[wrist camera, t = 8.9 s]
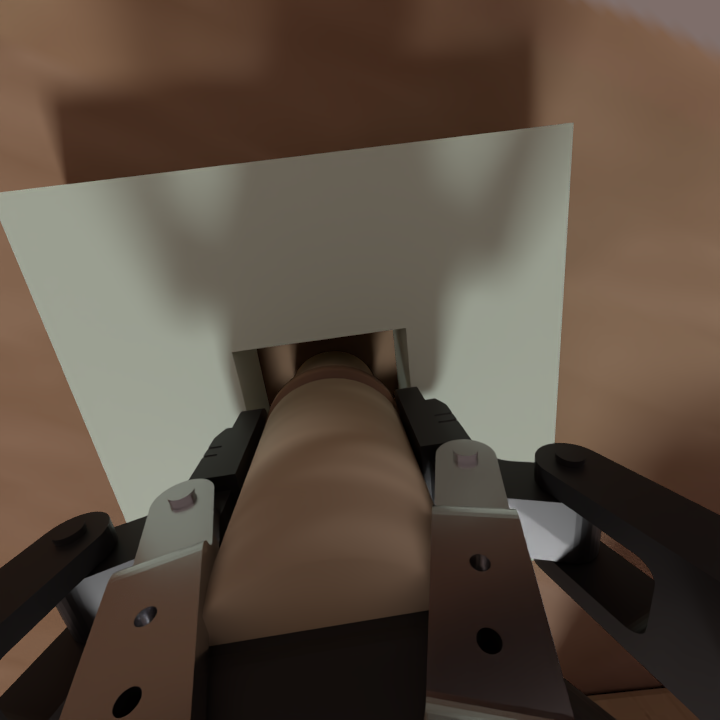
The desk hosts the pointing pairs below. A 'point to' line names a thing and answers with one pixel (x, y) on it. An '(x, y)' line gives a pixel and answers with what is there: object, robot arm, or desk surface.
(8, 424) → the desk surface
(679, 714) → the wooden block
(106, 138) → the desk surface
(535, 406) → the seat board
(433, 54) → the desk surface
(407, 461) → the peg
